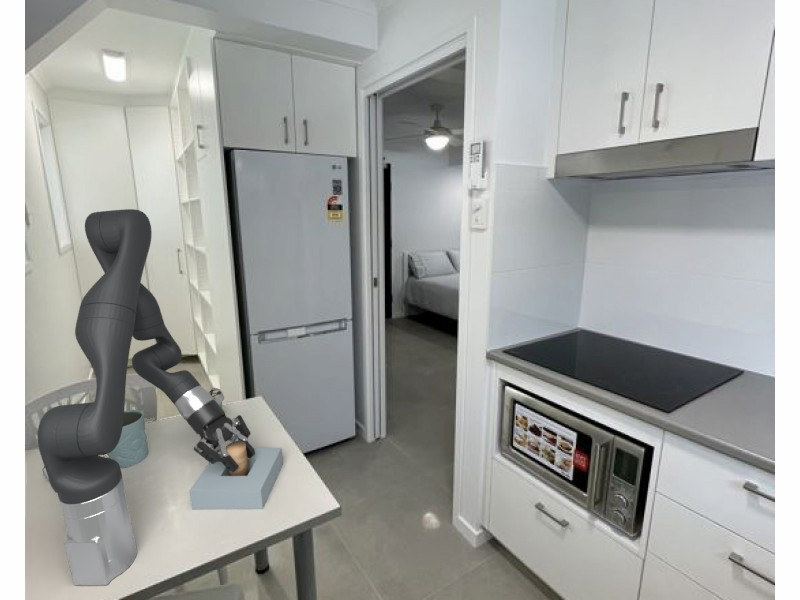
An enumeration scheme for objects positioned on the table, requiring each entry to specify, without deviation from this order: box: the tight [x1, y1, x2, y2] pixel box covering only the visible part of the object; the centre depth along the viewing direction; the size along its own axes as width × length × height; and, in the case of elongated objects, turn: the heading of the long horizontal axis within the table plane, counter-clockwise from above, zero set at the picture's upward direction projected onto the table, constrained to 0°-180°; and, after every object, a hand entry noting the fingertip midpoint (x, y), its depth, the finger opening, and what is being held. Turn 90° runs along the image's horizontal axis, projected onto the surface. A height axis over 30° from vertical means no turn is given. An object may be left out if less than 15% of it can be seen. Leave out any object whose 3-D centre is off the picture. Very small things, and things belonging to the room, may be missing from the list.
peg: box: [225, 441, 249, 476], centre depth 97 cm, size 4×4×11 cm
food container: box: [208, 386, 225, 409], centre depth 124 cm, size 12×6×10 cm, turn 179°
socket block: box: [188, 447, 284, 510], centre depth 98 cm, size 16×16×5 cm
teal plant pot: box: [107, 409, 149, 469], centre depth 108 cm, size 10×10×12 cm
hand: (244, 462), depth 96 cm, fingers open, 5 cm apart
